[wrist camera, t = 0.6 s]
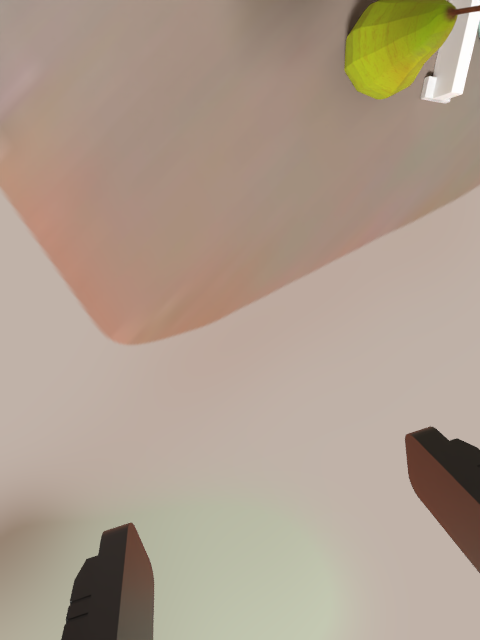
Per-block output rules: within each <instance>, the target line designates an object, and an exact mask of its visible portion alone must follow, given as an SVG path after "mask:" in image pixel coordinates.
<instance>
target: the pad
mask: <svg viewBox="0 0 480 640" xmlns="http://www.w3.org/2000/svg"><path fill="white" fill-rule="evenodd" d="M477 31H478V35H479V39H480V21H479V25H478V29H477Z"/></svg>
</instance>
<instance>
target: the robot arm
mask: <svg viewBox="0 0 480 640" xmlns="http://www.w3.org/2000/svg"><path fill="white" fill-rule="evenodd" d="M405 443H406V454H407V465H408V474H409V479H410V482H411V484H412V487H413V489H414V491H415V493H416V494H417V496H418V497H419V498H420V500H421V501H422V502H423V503H424V505H425V506H426V507H427V508H428V510H429V511H430V512H431V513H432V514H433V516H434V517H435V518H436V519H437V521H438V522H439V523H440V525H441V526H442V527H443V528H444V529H445V531H446V532H447V533H448V534H449V536H450V537H451V538H452V539H453V541H454V542H455V543H456V544H457V546H458V547H459V548H460V549H461V551H462V552H463V553H464V554H465V555H466V557H467V558H468V559H469V560H470V561H471V563H472V564H473V565H474V566H475V568H476V569H477V570H478V572H479V573H480V450H479V449H478V448H477V447H475V446H472V445H470V444H468V443H466V442H464V441H462V440H459V439H454V440H451V441H449V440H448V439H447V438H446V437H444V436H443V435H442V434H441V433H440V432H439V431H438V430H437V429H435V428H434V427H428V428H424V429H422V430H419V431H415V432H412V433H409V434H407V435H406V437H405ZM153 615H154V578H153V571H152V567H151V563H150V560H149V558H148V555H147V553H146V551H145V549H144V546H143V544H142V542H141V539H140V537H139V535H138V533H137V530H136V528H135V526H134V525H133V523H128V524H125V525H122V526H119V527H116V528H113V529H110V530H107V531H104V532H103V534H102V537H101V542H100V548H99V554H98V556H95V557H92V558H89V559H86V561H85V563H84V565H83V567H82V568H81V570H80V572H79V573H78V575H77V577H76V579H75V581H74V585H73V590H72V594H71V599H70V606H69V608H68V613H67V617H66V624H65V626H64V631H63V635H62V639H61V640H153Z"/></svg>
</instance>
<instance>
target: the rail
mask: <svg viewBox="0 0 480 640" xmlns="http://www.w3.org/2000/svg"><path fill="white" fill-rule="evenodd" d="M449 2H450V3H452V4H453V6H455V7H456V9H461V8H467V7H473V6H479V5H480V0H449ZM479 21H480V11H477V12H470V13H465V14H459V15H458V16H457V20H456V23H455V25H454V27H453V29H452V31H451V33H450V34H449V36H448V37H447V39H446V41H445V42H444V43H443V45H442V46H441V47H440V48H439V50H438V54H437V59H436V64H435V68H434V73H433V77H432V76H428V77H426V78H425V79H424V84H423V89H422V94H421V99H423V100H429V101H435V102H440V103H448V102H450V98H452V97H455V96H458V95H461V94H462V93H463V89H464V85H465V80H466V76H467V72H468V68H469V63H470V59H471V55H472V51H473V46H474V42H475V38H476V34H477V29H478V25H479Z"/></svg>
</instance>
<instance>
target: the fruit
mask: <svg viewBox="0 0 480 640" xmlns="http://www.w3.org/2000/svg"><path fill="white" fill-rule="evenodd" d="M477 11H480V5H479V6H473V7H467V8H461V9H456V7H455V6H453V4H452V3H450V2H448V1H445V0H379V1H377V2H374V3H372V4H370V5H369V6H368V7H367V8H366V10H365V11H364V12H363V13H362V15H361V17H360V18H359V20H358V21H357V23H356V24H355V26H354V27H353V29H352V30H351V32H350V33H349V35H348V36H347V39H346V49H345V72H346V74H347V76H348V77H349V79H350V80H351V82H352V83H353V85H354V87H355V88H356V90H357V91H359V92H361V93H363V94H366V95H368V96H370V97H373V98H375V99H384V98H388V97H390V96H392V95H393V94H395V93H397V92H399V91H401V90H403V89H405V88H407V87H409V86H410V85H411V84H412V82H413V81H414V80H415V78H416V76H417V75H418V73H419V71H420V70H421V68H422V66H423V65H424V63H425V62H426V61H427V60H428V59H429V58H430V57H431V56H432V55H433V54H434V53H435V52H436V51H437V50H438V49H439V48H440V47H441V46H442V45H443V43H444V42H445V41H446V39H447V37H448V36H449V34H450V33H451V31H452V29H453V27H454V25H455V23H456V20H457V16H458V15H459V14H465V13H470V12H477Z"/></svg>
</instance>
